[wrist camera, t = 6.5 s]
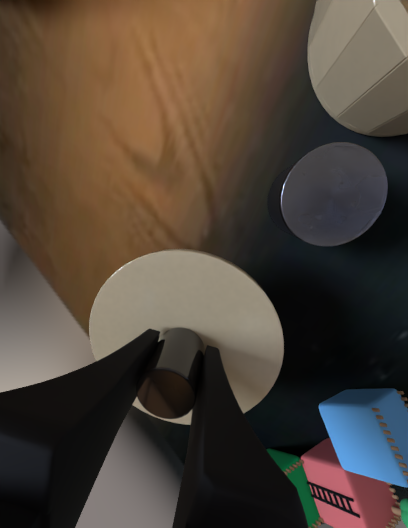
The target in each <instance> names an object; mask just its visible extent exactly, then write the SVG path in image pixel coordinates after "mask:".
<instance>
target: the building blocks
mask: <svg viewBox="0 0 408 528" xmlns="http://www.w3.org/2000/svg"><path fill="white" fill-rule="evenodd" d="M400 394H404V392H403V391H397V390H396V389H393V388H383V389H347V390H344V391H342V392H340V393H338V394H336V395H334V396H333V397H331V398H329V399H327V400H325V401H323V402H322V403H320V404H319V411H320V413H321V416H322V419H323V421H324V424H325V426H326V429H327V431H328V434H329V436H330V438H327V439H325V440H323V441H322V442H321V443H319V444H318V445H316V446H315V447H313V448H312V449H310V450H309V451H307V452H306V453H304V454H303V455H302V456H301V459H300V458H299V457H298V456H296V455H292V454H289V453H285V452H282V451H278V450H275V449H271V448H269V449H266V450H267V451H268V453H269V454H270V456H271V457H272V458H273V460H274V461H275V462H276V463H277V465H278V466H279V467H280V468H281V470H282V471H283V472H284V473H285V474H286V476H287V477H288V478H289V479H290V480H291V482H292V483H293V484H294V485H295V487H296V488H297V490H298V494H299V497H300V500H301V502H302V505H303V509H304V512H305V515H306V519H307V523H308V527H309V528H317V525H319V526H321V523H320V522H323V523H324V522H325V523H326V524H328V525H330V526H332V527H334V528H391V527H393V528H395V524H397V525H398V522H397V520H398V521H401V520H400V517H401V518H402V520H403V522H404V524H405V525H406V527H407V528H408V499H403V500H401V502H400V503H399V502H397V501H396V499H397V500H399V498H398V496H396V495H394V494H393V492H395V489H393V488H390V485H392V484H395V485H398V486H402V487H408V408H407V407H408V404H405V403H404V401H407V398H406V397H401V395H400ZM399 506H400V508H399ZM394 523H395V524H394Z"/></svg>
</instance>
